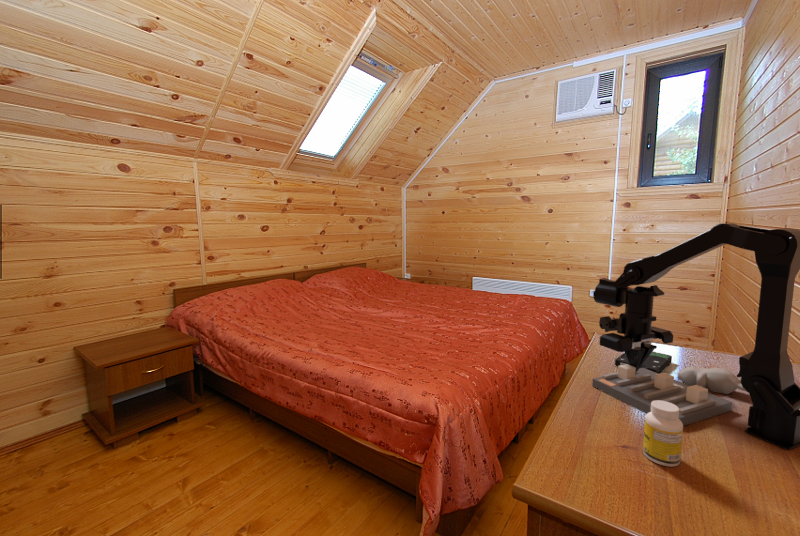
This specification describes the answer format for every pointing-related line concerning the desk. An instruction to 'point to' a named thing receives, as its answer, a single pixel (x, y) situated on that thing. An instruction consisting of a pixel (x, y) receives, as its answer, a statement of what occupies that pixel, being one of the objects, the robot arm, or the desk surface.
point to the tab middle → (663, 381)
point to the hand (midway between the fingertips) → (634, 371)
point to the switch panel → (660, 395)
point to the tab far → (626, 371)
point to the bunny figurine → (711, 379)
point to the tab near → (696, 394)
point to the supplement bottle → (663, 434)
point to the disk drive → (649, 361)
